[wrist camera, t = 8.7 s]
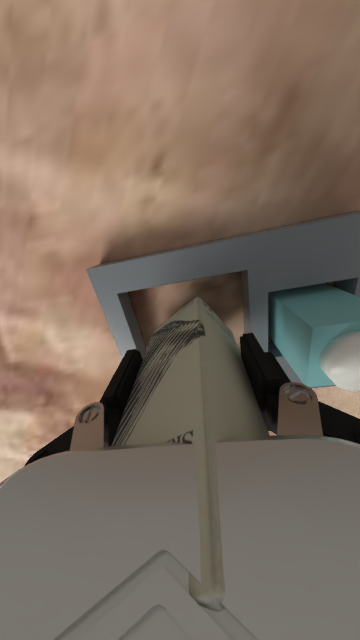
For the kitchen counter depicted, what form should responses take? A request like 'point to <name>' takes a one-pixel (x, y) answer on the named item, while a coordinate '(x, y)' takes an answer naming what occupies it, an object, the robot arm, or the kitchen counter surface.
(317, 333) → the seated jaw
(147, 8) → the kitchen counter surface
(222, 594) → the box
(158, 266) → the frame
